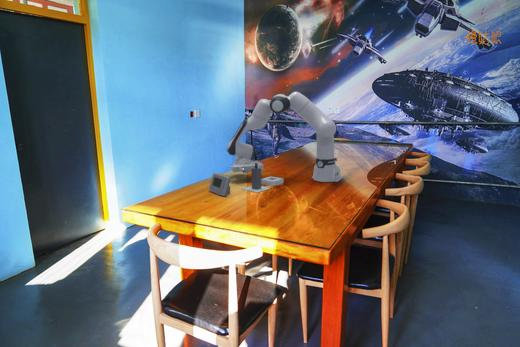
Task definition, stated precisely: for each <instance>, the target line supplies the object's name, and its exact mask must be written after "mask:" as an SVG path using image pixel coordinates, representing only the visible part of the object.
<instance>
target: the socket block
mask: <svg viewBox="0 0 520 347" xmlns="http://www.w3.org/2000/svg"><path fill="white" fill-rule="evenodd" d="M284 181H285V180H284V178H283V177H278V176H277V177H276V176H271V175H270V176H267V177H264V178H261V185H265V186H268V187H276V186H279V185H283V184H284Z"/></svg>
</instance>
